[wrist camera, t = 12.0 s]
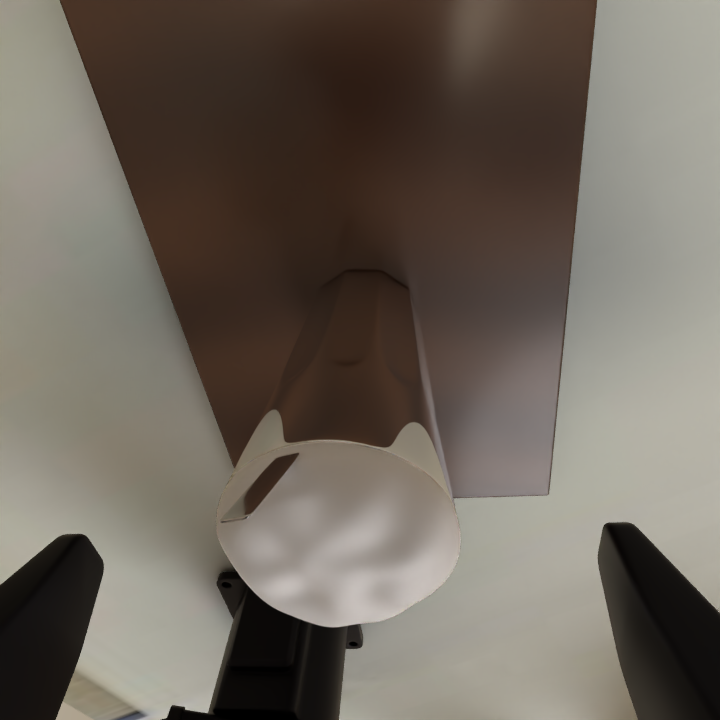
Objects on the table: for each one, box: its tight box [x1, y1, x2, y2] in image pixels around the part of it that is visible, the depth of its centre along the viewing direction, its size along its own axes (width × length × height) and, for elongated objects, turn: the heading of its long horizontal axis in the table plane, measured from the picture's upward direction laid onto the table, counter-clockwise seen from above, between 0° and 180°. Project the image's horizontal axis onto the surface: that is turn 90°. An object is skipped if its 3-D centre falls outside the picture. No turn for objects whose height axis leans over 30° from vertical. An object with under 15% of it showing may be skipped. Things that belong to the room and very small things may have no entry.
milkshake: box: [216, 271, 461, 627], centre depth 12 cm, size 4×5×10 cm
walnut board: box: [60, 0, 597, 498], centre depth 17 cm, size 18×12×1 cm, turn 8°
